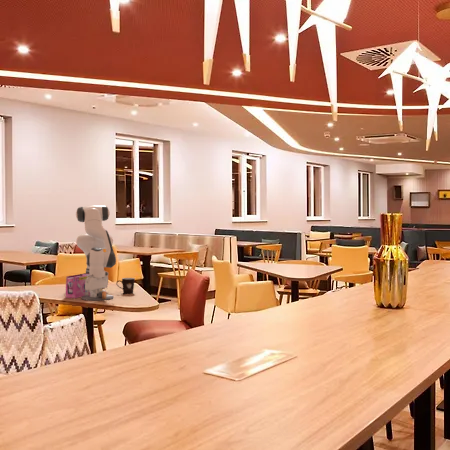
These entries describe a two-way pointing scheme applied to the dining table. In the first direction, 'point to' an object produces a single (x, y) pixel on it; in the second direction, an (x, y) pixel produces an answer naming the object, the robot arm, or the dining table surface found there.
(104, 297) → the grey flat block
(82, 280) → the gum box
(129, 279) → the coffee mug
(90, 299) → the cap housing
